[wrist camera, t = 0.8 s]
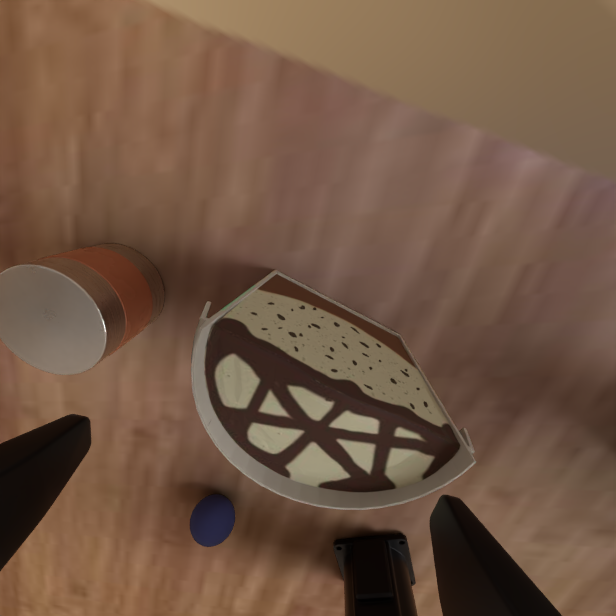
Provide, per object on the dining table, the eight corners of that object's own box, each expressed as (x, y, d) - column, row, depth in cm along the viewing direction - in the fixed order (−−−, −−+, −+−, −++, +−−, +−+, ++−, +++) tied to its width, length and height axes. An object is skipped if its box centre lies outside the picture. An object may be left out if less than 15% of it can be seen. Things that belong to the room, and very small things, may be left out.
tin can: (179, 319, 22) (127, 365, 16) (102, 336, 23) (27, 385, 17) (143, 232, 20) (69, 250, 14) (60, 254, 21) (-41, 278, 15)
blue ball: (245, 511, 28) (233, 555, 25) (208, 515, 29) (192, 559, 25) (232, 482, 27) (218, 523, 24) (194, 487, 28) (174, 528, 24)
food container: (218, 335, 22) (135, 443, 13) (253, 258, 20) (185, 320, 11) (371, 409, 23) (396, 557, 14) (419, 344, 21) (488, 468, 12)
